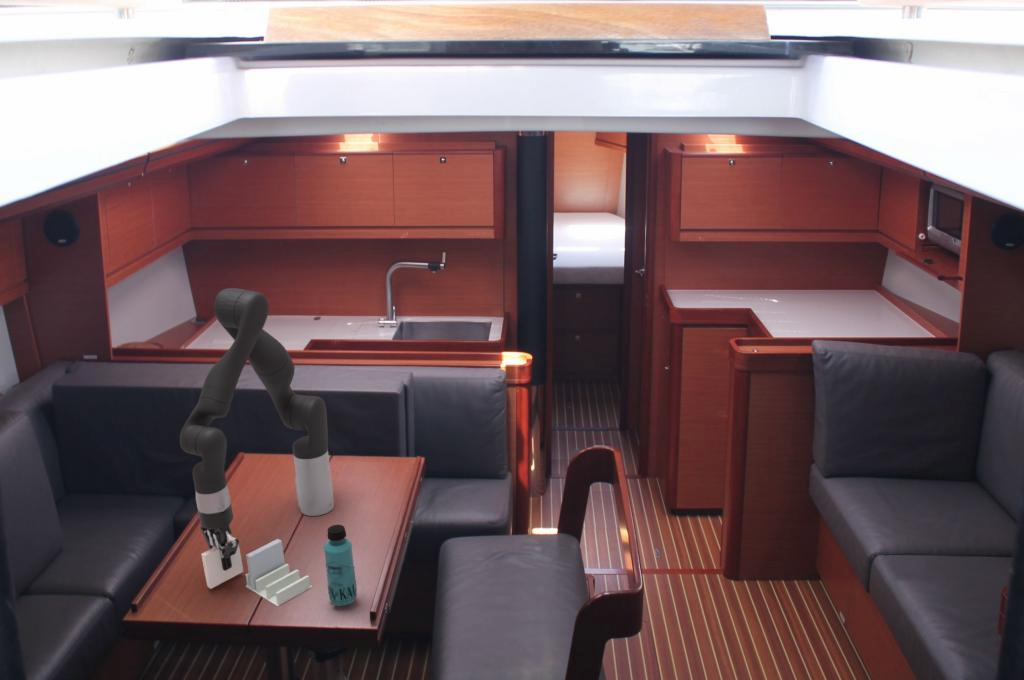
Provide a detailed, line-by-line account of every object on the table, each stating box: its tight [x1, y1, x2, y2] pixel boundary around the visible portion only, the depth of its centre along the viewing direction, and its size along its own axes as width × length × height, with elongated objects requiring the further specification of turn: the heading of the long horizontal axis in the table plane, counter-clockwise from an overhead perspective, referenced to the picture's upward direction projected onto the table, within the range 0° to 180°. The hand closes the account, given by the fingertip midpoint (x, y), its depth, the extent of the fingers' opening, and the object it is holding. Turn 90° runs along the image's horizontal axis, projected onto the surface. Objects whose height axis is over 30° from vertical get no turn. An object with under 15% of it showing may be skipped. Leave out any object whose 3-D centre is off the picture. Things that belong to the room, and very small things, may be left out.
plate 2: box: [245, 538, 286, 590], centre depth 231 cm, size 2×9×9 cm, turn 138°
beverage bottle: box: [323, 524, 358, 607], centre depth 221 cm, size 6×7×20 cm
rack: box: [245, 563, 313, 607], centre depth 230 cm, size 10×13×4 cm
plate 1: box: [200, 537, 244, 590], centre depth 231 cm, size 2×9×9 cm, turn 138°
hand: (225, 567), depth 232 cm, fingers closed on plate 1, 1 cm apart
